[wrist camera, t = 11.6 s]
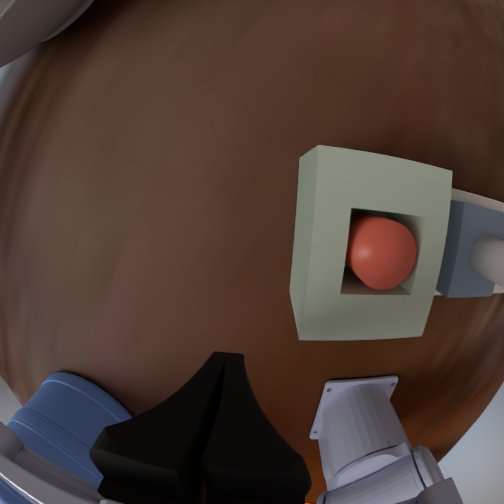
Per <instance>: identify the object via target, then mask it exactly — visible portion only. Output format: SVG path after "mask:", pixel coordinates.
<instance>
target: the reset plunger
mask: <svg viewBox="0 0 504 504" xmlns="http://www.w3.org/2000/svg"><path fill="white" fill-rule="evenodd" d="M415 258H416V244H415V240H414V238H413V236H412V234H411V232H410V231H409V230H408V229H407V227H405V226H404V225H402V224H401V223H398V222H396V221H393V220H390V219H387V218H384V217H381V216H378V215H375V214H372V213H369V212H356V213H353V214H351V215H350V225H349V234H348V243H347V251H346V258H345V263H346V264H347V265H348V266H349V267H350V268H351V269H352V270H353V272H354V273H355V274H356V275H357V276H358V277H359V278H360V279H361V280H362V281H363V282H364V283H365V284H366V285H367V286H369V287H371V288H373V289H377V290H386V289H390V288H393V287H395V286H397V285H399V284H400V283H401V282H402V281H404V280H405V279H406V277H407V276H408V275H409V273H410V272H411V270H412V268H413V265H414V263H415Z"/></svg>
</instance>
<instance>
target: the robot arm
mask: <svg viewBox="0 0 504 504" xmlns="http://www.w3.org/2000/svg"><path fill="white" fill-rule="evenodd" d="M397 382H398V377H397V376H386V377H376V378H365V379H351V380H331V381H328V382H326V383H325V386H324V390H323V393H322V397H321V400H320V403H319V407H318V410H317V413H316V416H315V420H314V423H313V426H312V429H311V432H310V435H309V437H310V439H318V442H319V448H320V454H321V461H322V467H323V474H324V477H325V480H326V483H327V490H326V491H324V492H322V493H321V494H320V496H319V498H318V500H317V503H316V504H463V502H462V499H461V497H460V495H459V492H458V490H457V488H456V486H455V484H454V481H453V480H452V478H448V479H446V480H445V479H444V477H443V475H442V473H441V470H440V469H439V467H438V465H437V462H436V460H435V459H434V457H433V455H432V453H431V452H430V450H429V449H428V448H427V447H421V446H419V445H418V446H417V447H415V448H414V449H413V448H412V447H411V445H410V443H409V441H408V439H407V436H406V434H405V432H404V430H403V427H402V425H401V423H400V421H399V419H398V417H397V415H396V412H395V410H394V408H393V406H392V404H391V402H390V400H389V399H390V397H391V395H392V393H393V391H394V389H395V386H396V384H397ZM329 388H331V389H329ZM89 456H90V458H91V460H92V462H93V463H94V465H95V466H96V467H97V469H98V470H99V471H100V473H101V474H102V475H103V479H102V481H101V483H100V485H99V486H97V485H95V484H93V483H91V482H89V481H86V480H84V479H82V478H80V477H78V476H76V475H74V474H72V473H70V472H68V471H66V470H64V469H63V468H61V467H59V466H57V465H55V464H54V463H52V462H50V461H49V460H47V459H45V458H44V457H42V456H40V455H39V454H37V453H36V452H34V451H33V450H31V449H30V448H28V447H27V446H25V445H24V444H23V442H22V441H21V439H20V438H19V437H18V436H17V435H16V434H15V433H14V432H13V431H12V430H11V429H9V428H8V427H7V426H5V425H4V424H3V423H2V422H0V477H1V478H2V479H3V480H4V481H5V482H6V483H7V484H9V485H10V486H11V487H12V488H13V489H15V490H16V491H17V492H18V493H20V494H21V495H22V496H24V497H25V498H26V499H27V500H29V501H30V502H32V503H33V504H305V497H306V495H307V494H308V492H309V490H310V489H311V485H312V483H311V478H310V474H309V471H308V469H307V466H306V464H305V462H304V460H303V457H302V456H301V455H300V454H299V453H297V452H296V451H295V450H294V449H293V448H292V447H291V446H290V445H289V444H288V443H287V442H286V441H285V440H284V439H283V438H282V437H281V436H280V434H279V433H278V432H277V431H276V429H275V428H274V427H273V425H272V424H271V423H270V421H269V420H268V418H267V417H266V415H265V414H264V412H263V411H262V409H261V407H260V405H259V403H258V402H257V400H256V397H255V395H254V393H253V391H252V388H251V386H250V383H249V380H248V377H247V374H246V369H245V364H244V355H243V354H238V353H226V352H216V351H214V352H213V353H212V354H211V356H210V357H209V358H208V360H207V361H206V362H205V363H204V364H203V366H202V367H201V368H200V369H199V370H198V371H197V372H196V373H195V375H194V376H193V377H192V378H191V379H190V380H189V381H188V382H186V383H185V384H184V385H183V386H182V387H181V388H180V389H179V390H178V391H176V392H175V393H174V394H173V395H171V396H170V397H169V398H167V399H166V400H164V401H163V402H161V403H160V404H158V405H157V406H155V407H153V408H152V409H150V410H148V411H146V412H144V413H142V414H140V415H138V416H136V417H133V418H131V419H128V420H126V421H123V422H120V423H117V424H113V425H110V426H106V427H105V428H104V429H103V430H102V432H101V433H100V434H99V436H98V437H97V439H96V441H95V442H94V444H93V446H92V448H91V449H90V451H89Z"/></svg>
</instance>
